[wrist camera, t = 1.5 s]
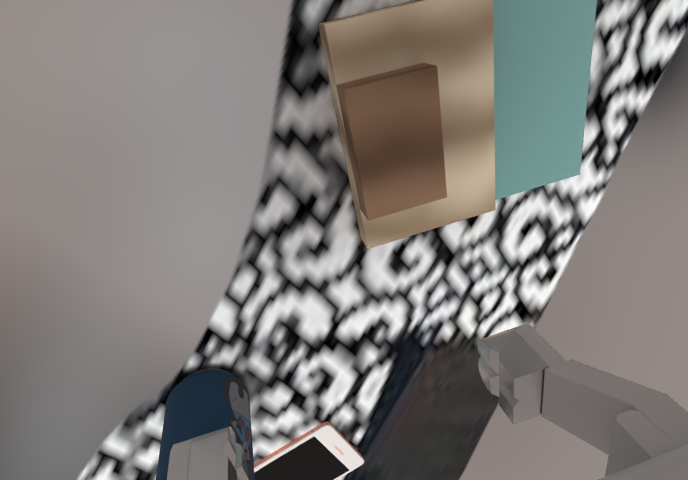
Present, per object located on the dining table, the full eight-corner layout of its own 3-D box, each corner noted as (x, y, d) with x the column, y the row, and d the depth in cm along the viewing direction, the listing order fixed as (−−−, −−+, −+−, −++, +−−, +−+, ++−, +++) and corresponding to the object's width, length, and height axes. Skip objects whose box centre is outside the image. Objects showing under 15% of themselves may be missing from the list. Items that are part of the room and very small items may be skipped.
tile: (336, 84, 27) (343, 89, 25) (423, 62, 28) (437, 65, 26) (360, 209, 32) (368, 220, 30) (435, 187, 32) (447, 197, 31)
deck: (317, 23, 27) (324, 24, 25) (476, -14, 28) (493, -16, 27) (360, 237, 35) (367, 248, 33) (482, 200, 36) (495, 209, 35)
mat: (480, -15, 28) (484, -15, 28) (595, -42, 29) (601, -43, 29) (485, 199, 36) (488, 201, 36) (575, 172, 37) (579, 174, 37)
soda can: (157, 412, 38) (133, 559, 28) (183, 355, 36) (168, 491, 26) (231, 423, 41) (234, 560, 31) (260, 370, 39) (274, 498, 29)
